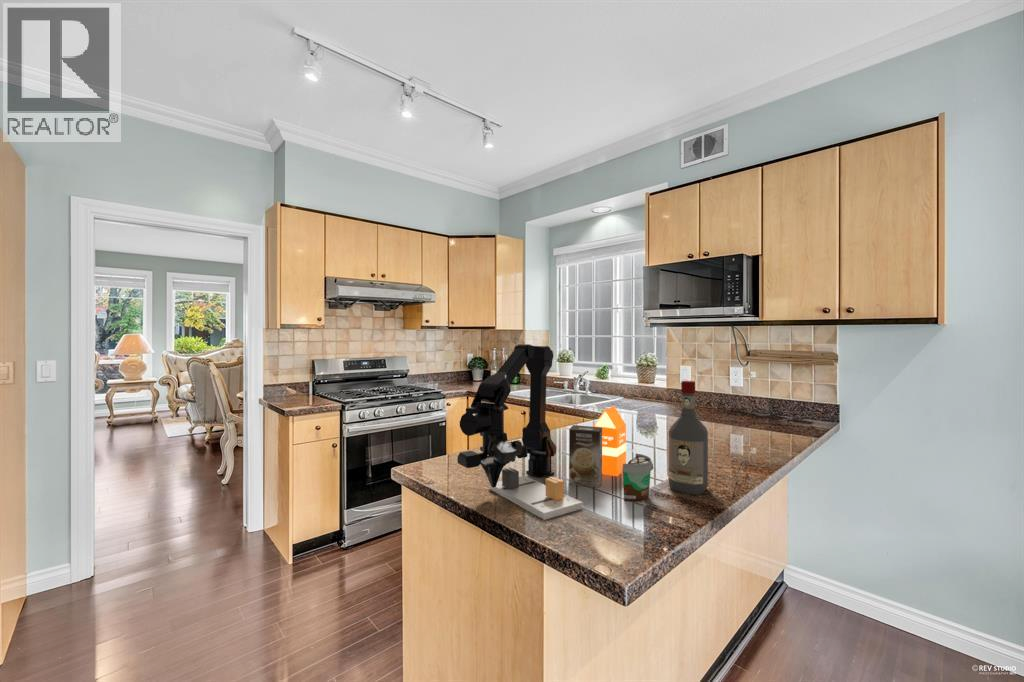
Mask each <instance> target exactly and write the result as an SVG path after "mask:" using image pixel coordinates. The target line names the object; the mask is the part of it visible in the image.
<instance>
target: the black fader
mask: <svg viewBox="0 0 1024 682" xmlns="http://www.w3.org/2000/svg"><path fill="white" fill-rule="evenodd" d="M501 477H502V478H501V481H502V486H504V487H506V488H508V489H515V488H519V477H520V474H519V471H518V470H516V469H515V468H512V467H506V468H503V469H502V471H501Z"/></svg>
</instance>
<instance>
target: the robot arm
mask: <svg viewBox="0 0 1024 682" xmlns="http://www.w3.org/2000/svg"><path fill="white" fill-rule="evenodd" d="M553 360H554V352H553V350H552V349H551V348H550V346H549V345H532V344H530V343H529V344H528V343H526V344H525V343H524V344H522V343H519V344H516V345H515V346H514V348H513V351H512V352H511V354H510V355H509V356H508V357H507V358H506V360H505V361H504V362H503V364H502V365H501V367H500V368H499V369H498V370H497V371H496V372H495V373H494V374H492V375H490V376H487V377H486V378H485V379H484V380H482V382H480V384H479V385H478V388H477V391H476V393H475V395H474V398H473V399H472V402H471V404H470V407H466V408H465V413H464V414H462V415H461V417H460V420H459V428H460V430H461V432H462V433H463V435H465V436H467V437H471V436H475V435H478V434H479V436H481V437H482V438H481V439H482V446H480V447H479V449H480V450H479V451H481V452H479V453H477V452H475V451H474V450H467V451H461V452H459V453H458V455H457V464H459V465H460V466H463V467H465V468H466V469H471V468H472V469H473V468H476V467H480V466H481V467H482V468H483V469H482V470H483V471H484V473H485V475H486V477H487V480H488V482H489V485H490V484H491V487H496V485H497V482H499V478H500V477H501V474H502V469H504V467H505V466H506V465H507V464H510V463H514V462H515V461H516V458H518V459H524V458H528V457H529V458H528V464H527V465H528V467H527V468H528V470H526V472H525V473H527V474H530V475H531V476H534V477H535V478H543V477H549V476H552V475H555V471H553V470H552V457H555V455H556V453H557V445H556V444H555V443H554V441H553V440H552V437H551V429H550V427H549V426H548V423H547V421H546V411H547V408H546V407H547V402H546V401H547V375H548V373H549V372H550V370H551V369H552V366H553ZM523 367H526V370H527V371H528V372H529V375H530V377H529V378H530V379H529V381H530V382H529V383H530V385H529V420H528V423H527V425H526V426H524V427H522V438H521V440H513V441H509V440H508V435H507V432H505V423H504V422H505V420H504V418H505V416H504V415H505V413H504V411H507V410H509V406H507V404H505V402H506V400H507V399H508V397H509V395H510V394H511V385H512V383H513V381H514V380H515V379H516V377H517V376H518V375H519V373H520V371H521V370H522V369H523ZM521 441H522V442H521ZM528 455H529V456H528Z"/></svg>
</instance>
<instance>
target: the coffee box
mask: <svg viewBox="0 0 1024 682" xmlns="http://www.w3.org/2000/svg"><path fill="white" fill-rule="evenodd" d="M568 431H569V433H568V434H569V435H568V440H569V441H568V442H569V443H568V445H569V446H568V447H569V448H568V449H569V450H568V451H569V453H568V456H569V457H568V458H569V459H568V477H569V478H568V485H575V486H576V485H577V486H582V487H583V486H584V487H593V488H600V487H601V484H602V482H603V474H602V427H593V426H589V425H578V424H577V425H576V424H572V426H571V427H570V428H569V429H568Z"/></svg>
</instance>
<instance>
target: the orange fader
mask: <svg viewBox="0 0 1024 682" xmlns="http://www.w3.org/2000/svg"><path fill="white" fill-rule="evenodd" d="M544 482H545V485H546V496H547V497H549V498H551V499H553V500H555V501H556V500H559V499H563V498H564V494H565V481H564V480H562V479H560V478H558V477H556V476H549V477H548V478H545V481H544Z"/></svg>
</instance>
